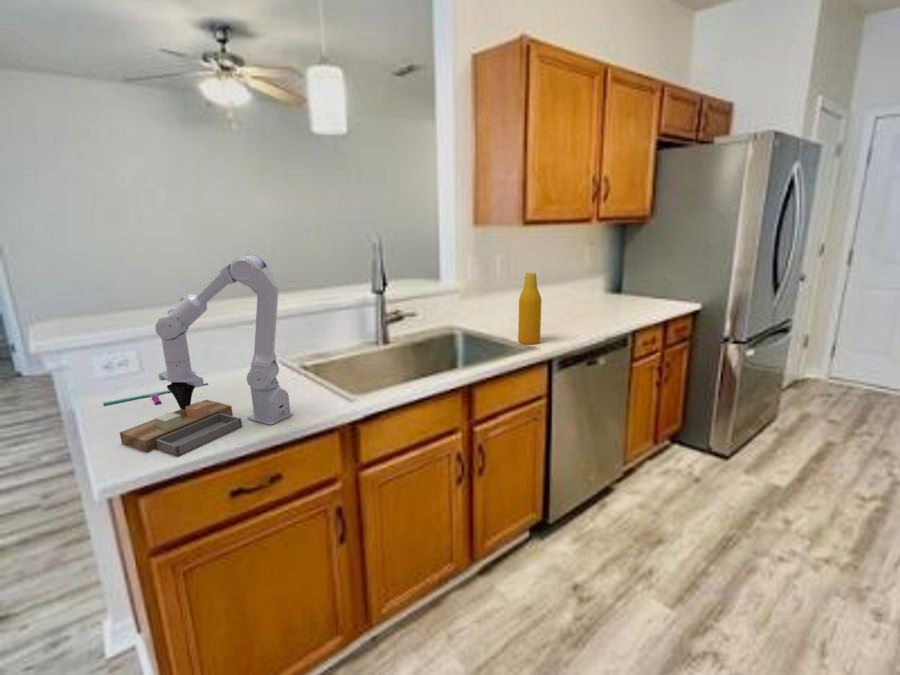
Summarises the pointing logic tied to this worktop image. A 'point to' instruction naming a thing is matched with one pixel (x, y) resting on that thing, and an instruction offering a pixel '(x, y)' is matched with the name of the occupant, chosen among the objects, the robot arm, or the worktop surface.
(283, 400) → the robot arm
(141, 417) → the worktop surface
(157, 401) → the squeegee
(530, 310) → the beer bottle
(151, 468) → the worktop surface
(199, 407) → the tile terracotta
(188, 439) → the tray
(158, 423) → the tile sage
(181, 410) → the board
